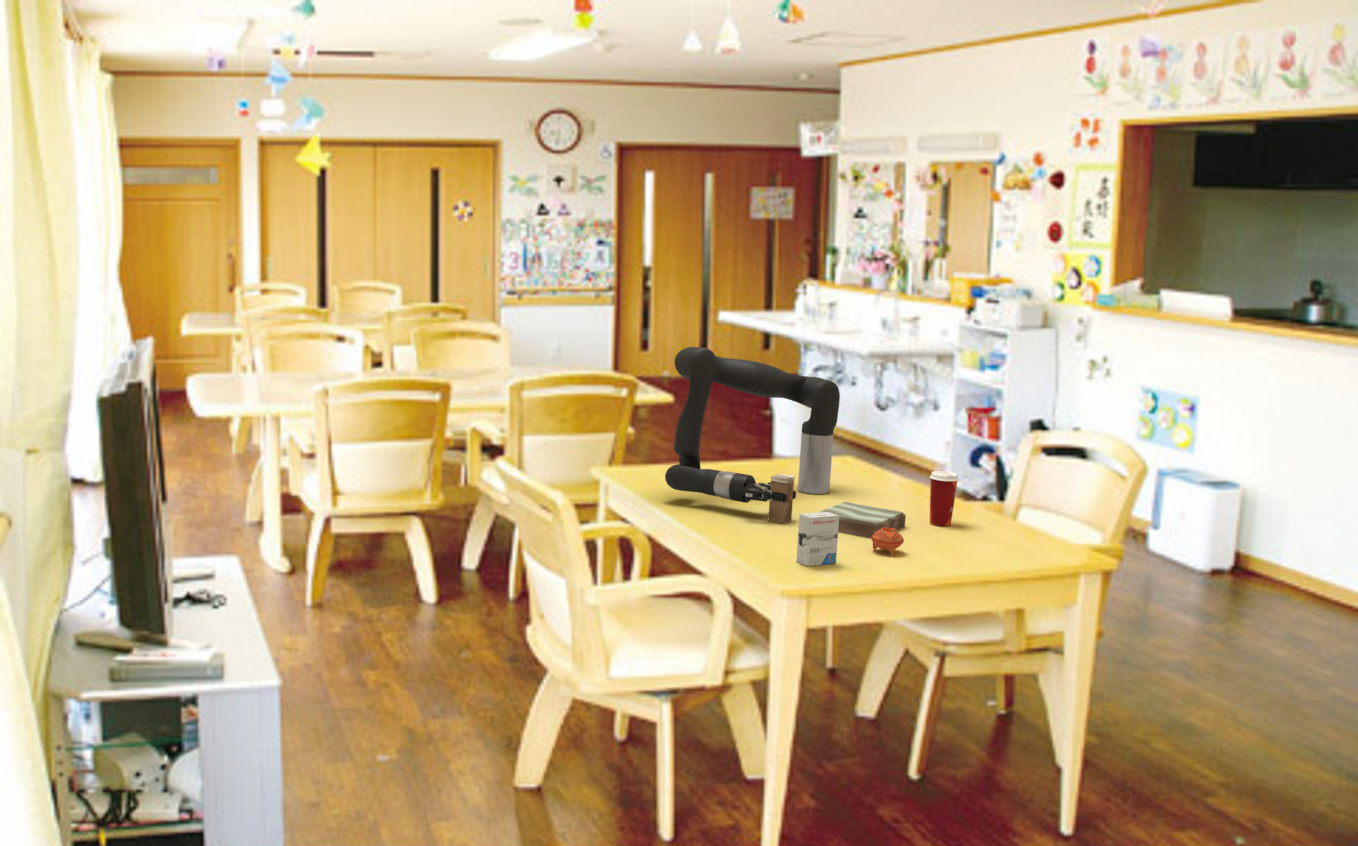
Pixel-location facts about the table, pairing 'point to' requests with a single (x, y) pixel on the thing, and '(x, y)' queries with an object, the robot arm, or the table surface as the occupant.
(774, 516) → the block
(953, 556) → the table surface
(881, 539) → the pot
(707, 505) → the table surface
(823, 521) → the ink box
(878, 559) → the table surface
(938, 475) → the paper cup
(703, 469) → the robot arm
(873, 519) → the block
